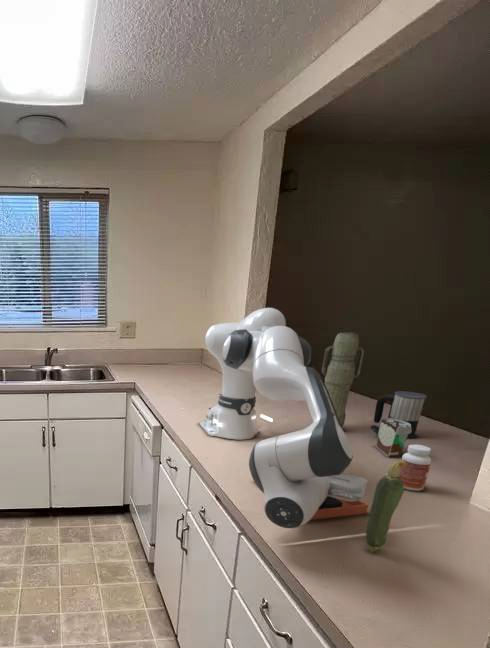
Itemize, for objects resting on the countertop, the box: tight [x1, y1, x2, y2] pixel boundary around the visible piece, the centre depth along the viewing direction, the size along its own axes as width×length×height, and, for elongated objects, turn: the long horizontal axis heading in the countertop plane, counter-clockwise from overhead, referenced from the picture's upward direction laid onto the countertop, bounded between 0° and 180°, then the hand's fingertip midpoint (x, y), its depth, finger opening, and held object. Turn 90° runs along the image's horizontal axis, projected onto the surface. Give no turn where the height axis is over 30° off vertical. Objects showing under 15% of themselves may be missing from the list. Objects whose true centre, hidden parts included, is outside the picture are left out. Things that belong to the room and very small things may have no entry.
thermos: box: [321, 331, 365, 429], centre depth 156 cm, size 9×12×35 cm
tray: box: [309, 498, 370, 521], centre depth 109 cm, size 21×15×2 cm
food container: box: [375, 416, 412, 458], centre depth 137 cm, size 12×6×10 cm, turn 168°
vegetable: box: [365, 459, 407, 553], centre depth 85 cm, size 4×4×20 cm
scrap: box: [318, 496, 343, 509], centre depth 102 cm, size 4×4×2 cm
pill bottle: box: [397, 444, 432, 491], centre depth 113 cm, size 6×6×11 cm
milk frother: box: [370, 390, 428, 439], centre depth 152 cm, size 14×16×15 cm
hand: (322, 468), depth 104 cm, fingers closed on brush, 3 cm apart
